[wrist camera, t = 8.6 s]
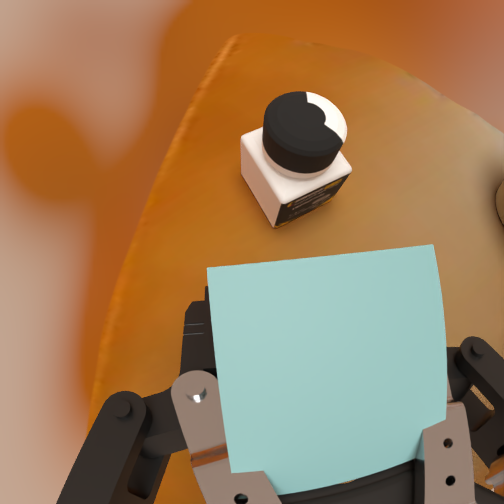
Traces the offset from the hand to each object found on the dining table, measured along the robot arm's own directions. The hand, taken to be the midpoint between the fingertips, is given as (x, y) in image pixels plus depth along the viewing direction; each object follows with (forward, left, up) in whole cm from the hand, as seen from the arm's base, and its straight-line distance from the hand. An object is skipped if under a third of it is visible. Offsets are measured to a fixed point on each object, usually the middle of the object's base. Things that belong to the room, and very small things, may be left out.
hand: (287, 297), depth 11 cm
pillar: (0, +2, -4) cm, 5 cm away
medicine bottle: (-4, -12, -17) cm, 22 cm away
